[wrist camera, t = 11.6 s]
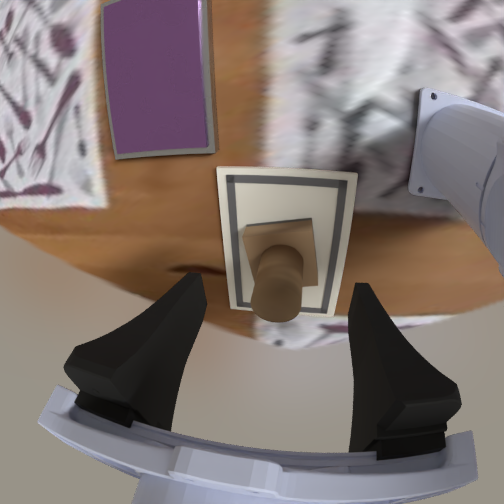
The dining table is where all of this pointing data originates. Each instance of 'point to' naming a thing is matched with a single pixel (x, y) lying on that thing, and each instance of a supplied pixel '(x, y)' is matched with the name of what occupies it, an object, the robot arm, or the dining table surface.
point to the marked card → (287, 208)
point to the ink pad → (159, 77)
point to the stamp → (280, 266)
